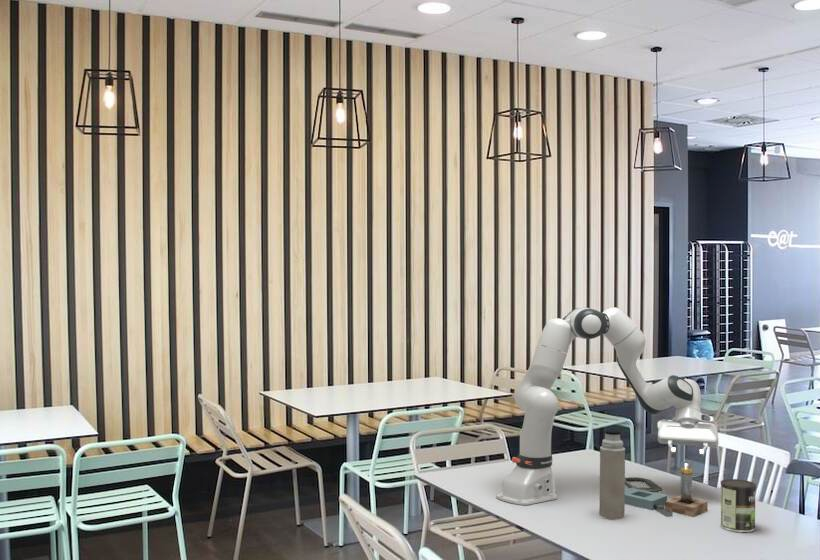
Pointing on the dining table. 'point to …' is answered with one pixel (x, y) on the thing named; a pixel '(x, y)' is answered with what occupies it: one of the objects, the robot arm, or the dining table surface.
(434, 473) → the dining table surface
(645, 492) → the teal flat box
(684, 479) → the gray gold-collared cylinder
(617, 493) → the thermos bottle
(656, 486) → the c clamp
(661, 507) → the drift key
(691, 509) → the socket block
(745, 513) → the coffee can
